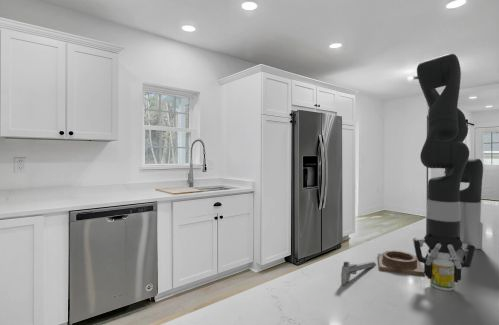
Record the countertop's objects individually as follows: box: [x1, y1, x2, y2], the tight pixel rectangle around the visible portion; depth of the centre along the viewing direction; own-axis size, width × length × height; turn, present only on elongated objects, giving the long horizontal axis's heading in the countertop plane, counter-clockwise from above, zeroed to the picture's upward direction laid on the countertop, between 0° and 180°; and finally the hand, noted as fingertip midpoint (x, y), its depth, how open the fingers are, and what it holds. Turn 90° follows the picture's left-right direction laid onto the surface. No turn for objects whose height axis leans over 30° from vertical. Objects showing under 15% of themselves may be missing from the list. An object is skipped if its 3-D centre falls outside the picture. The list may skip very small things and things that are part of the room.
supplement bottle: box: [429, 252, 455, 292], centre depth 77 cm, size 5×5×10 cm
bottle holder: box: [377, 250, 426, 277], centre depth 92 cm, size 12×12×3 cm
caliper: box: [340, 260, 377, 286], centre depth 86 cm, size 21×1×6 cm, turn 134°
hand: (441, 279), depth 77 cm, fingers closed on supplement bottle, 5 cm apart
